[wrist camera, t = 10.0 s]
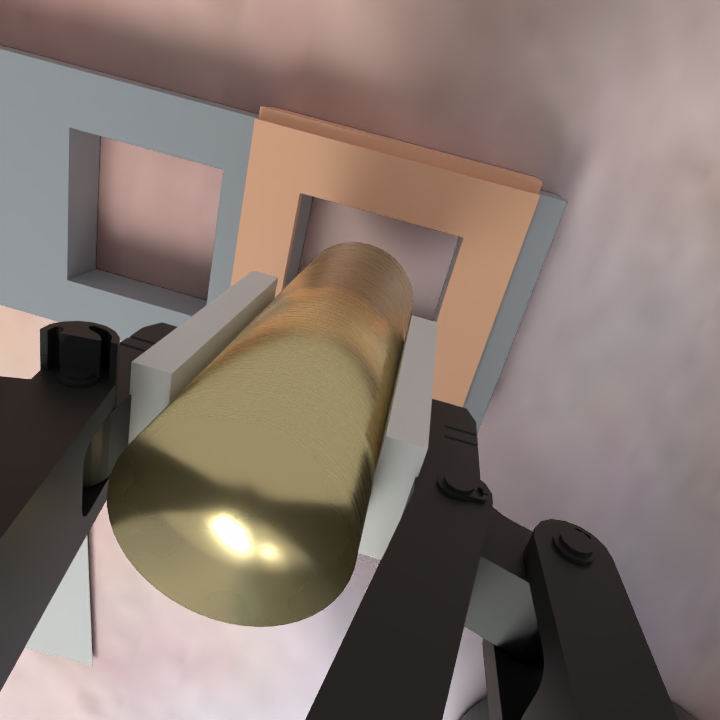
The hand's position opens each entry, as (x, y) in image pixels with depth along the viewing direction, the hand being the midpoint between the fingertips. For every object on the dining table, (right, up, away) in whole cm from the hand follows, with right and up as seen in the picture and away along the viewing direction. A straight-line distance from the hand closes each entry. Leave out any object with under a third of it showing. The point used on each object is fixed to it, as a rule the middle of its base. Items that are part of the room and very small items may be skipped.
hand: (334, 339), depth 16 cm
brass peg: (+1, +2, +3) cm, 4 cm away
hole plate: (-8, +5, +7) cm, 12 cm away
